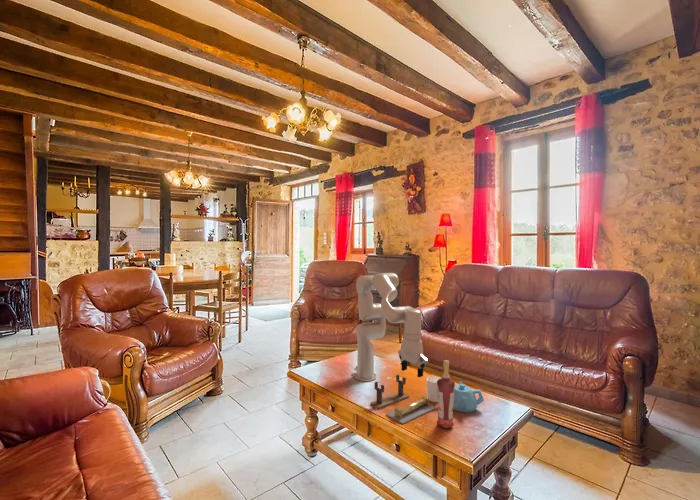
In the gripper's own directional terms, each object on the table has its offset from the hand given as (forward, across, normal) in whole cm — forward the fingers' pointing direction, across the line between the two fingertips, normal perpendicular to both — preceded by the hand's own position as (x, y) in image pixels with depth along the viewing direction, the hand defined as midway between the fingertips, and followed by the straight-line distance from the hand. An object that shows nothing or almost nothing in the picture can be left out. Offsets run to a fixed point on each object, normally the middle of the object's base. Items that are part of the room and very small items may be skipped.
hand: (412, 373), depth 160 cm
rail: (+17, +1, 0) cm, 17 cm away
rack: (+18, -14, 0) cm, 23 cm away
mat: (+18, 0, 0) cm, 18 cm away
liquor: (+18, +17, +2) cm, 25 cm away
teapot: (+18, +11, +23) cm, 31 cm away
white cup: (+18, -2, +19) cm, 26 cm away
